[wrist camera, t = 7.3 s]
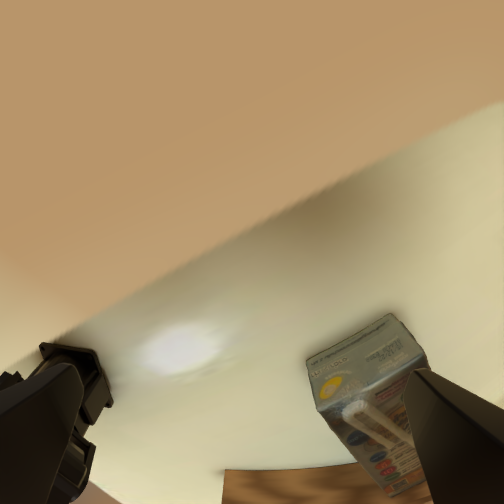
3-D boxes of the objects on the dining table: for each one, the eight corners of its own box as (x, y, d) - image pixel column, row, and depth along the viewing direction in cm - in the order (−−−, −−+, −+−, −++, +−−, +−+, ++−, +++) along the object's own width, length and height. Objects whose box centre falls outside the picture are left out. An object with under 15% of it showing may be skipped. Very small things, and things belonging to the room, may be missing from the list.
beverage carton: (394, 304, 20) (435, 354, 14) (437, 426, 25) (459, 466, 19) (301, 357, 22) (313, 421, 15) (375, 459, 26) (389, 503, 20)
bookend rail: (226, 476, 27) (220, 533, 19) (225, 469, 26) (218, 528, 19) (438, 448, 26) (459, 493, 19) (443, 441, 26) (465, 486, 18)
